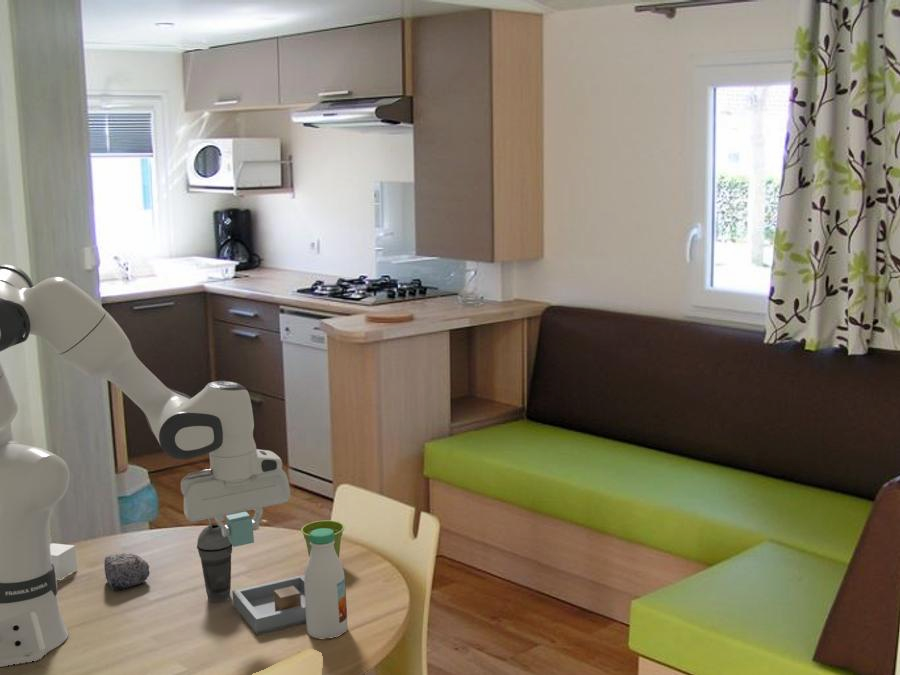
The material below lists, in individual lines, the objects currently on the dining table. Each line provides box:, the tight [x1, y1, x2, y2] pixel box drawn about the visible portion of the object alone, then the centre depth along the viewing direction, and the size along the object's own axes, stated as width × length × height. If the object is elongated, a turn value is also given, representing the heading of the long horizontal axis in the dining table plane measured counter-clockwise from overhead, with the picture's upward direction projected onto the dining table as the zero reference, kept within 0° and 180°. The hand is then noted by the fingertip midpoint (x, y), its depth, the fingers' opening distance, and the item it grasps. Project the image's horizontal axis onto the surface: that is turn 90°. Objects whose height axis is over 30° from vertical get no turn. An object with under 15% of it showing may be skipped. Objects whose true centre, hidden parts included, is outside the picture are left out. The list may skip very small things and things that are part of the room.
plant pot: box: [300, 519, 345, 559], centre depth 238 cm, size 9×9×9 cm
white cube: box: [50, 542, 78, 579], centre depth 238 cm, size 6×6×6 cm
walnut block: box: [274, 586, 301, 612], centre depth 213 cm, size 4×4×5 cm
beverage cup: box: [196, 518, 233, 603], centre depth 222 cm, size 7×7×20 cm
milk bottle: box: [303, 528, 348, 639], centre depth 205 cm, size 8×8×20 cm
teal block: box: [225, 511, 255, 548], centre depth 210 cm, size 4×4×5 cm
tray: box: [231, 574, 307, 636], centre depth 216 cm, size 15×15×3 cm
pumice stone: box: [103, 553, 150, 591], centre depth 231 cm, size 10×8×10 cm
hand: (240, 532), depth 210 cm, fingers closed on teal block, 4 cm apart
